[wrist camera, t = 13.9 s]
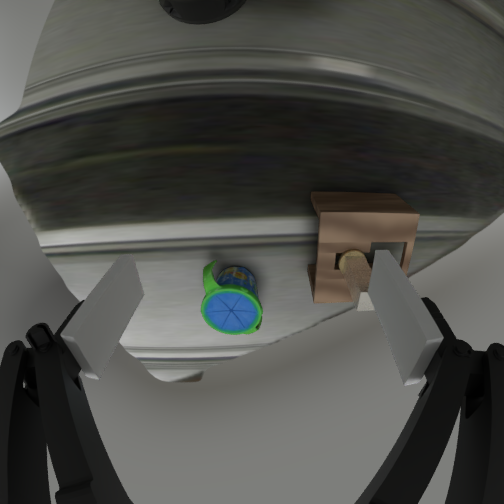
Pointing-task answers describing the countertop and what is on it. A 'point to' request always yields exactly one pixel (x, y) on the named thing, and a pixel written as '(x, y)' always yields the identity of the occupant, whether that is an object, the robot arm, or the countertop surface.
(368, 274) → the hanger peg
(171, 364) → the countertop surface
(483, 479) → the robot arm
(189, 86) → the countertop surface
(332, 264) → the keyhole bracket
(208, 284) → the snack cup
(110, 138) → the countertop surface
